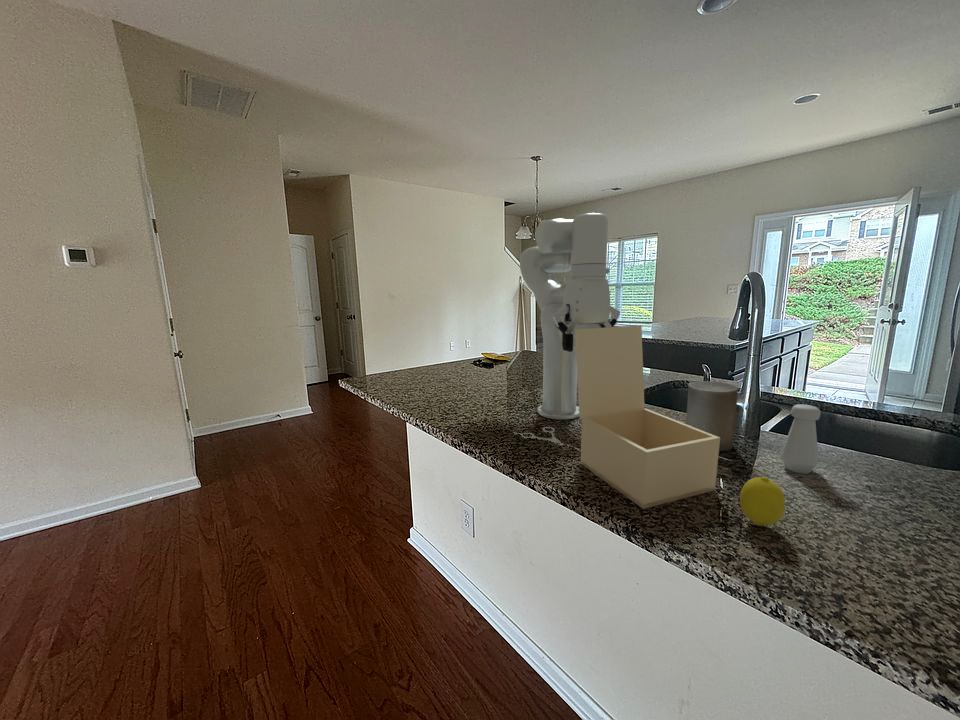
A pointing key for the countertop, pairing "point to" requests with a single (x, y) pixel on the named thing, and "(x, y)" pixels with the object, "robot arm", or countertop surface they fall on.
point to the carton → (649, 456)
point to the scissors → (545, 438)
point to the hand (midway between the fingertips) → (585, 349)
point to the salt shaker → (802, 440)
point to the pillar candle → (713, 410)
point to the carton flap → (609, 370)
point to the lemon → (762, 501)
